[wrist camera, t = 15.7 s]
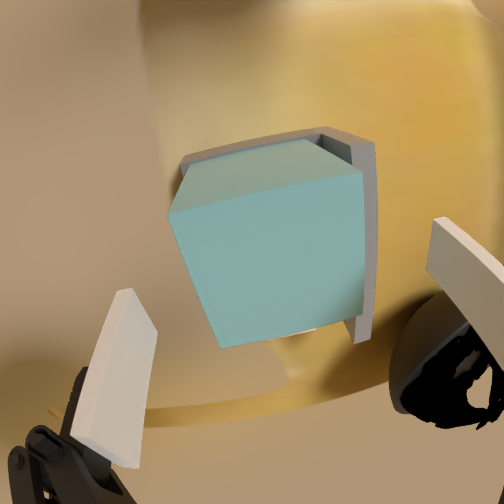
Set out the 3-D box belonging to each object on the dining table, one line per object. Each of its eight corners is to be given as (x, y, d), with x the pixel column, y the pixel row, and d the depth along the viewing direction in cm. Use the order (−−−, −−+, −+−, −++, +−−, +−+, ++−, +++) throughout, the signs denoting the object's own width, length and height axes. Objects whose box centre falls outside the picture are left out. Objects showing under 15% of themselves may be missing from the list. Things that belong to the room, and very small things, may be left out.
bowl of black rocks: (476, 315, 37) (532, 394, 20) (381, 378, 40) (421, 474, 24) (476, 224, 27) (578, 319, 11) (346, 310, 31) (413, 459, 15)
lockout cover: (190, 164, 19) (167, 214, 11) (304, 138, 19) (362, 171, 11) (219, 261, 23) (220, 348, 15) (318, 238, 23) (362, 314, 15)
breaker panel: (184, 156, 21) (165, 185, 14) (326, 126, 21) (374, 142, 14) (232, 309, 29) (237, 372, 22) (340, 284, 29) (370, 339, 22)
